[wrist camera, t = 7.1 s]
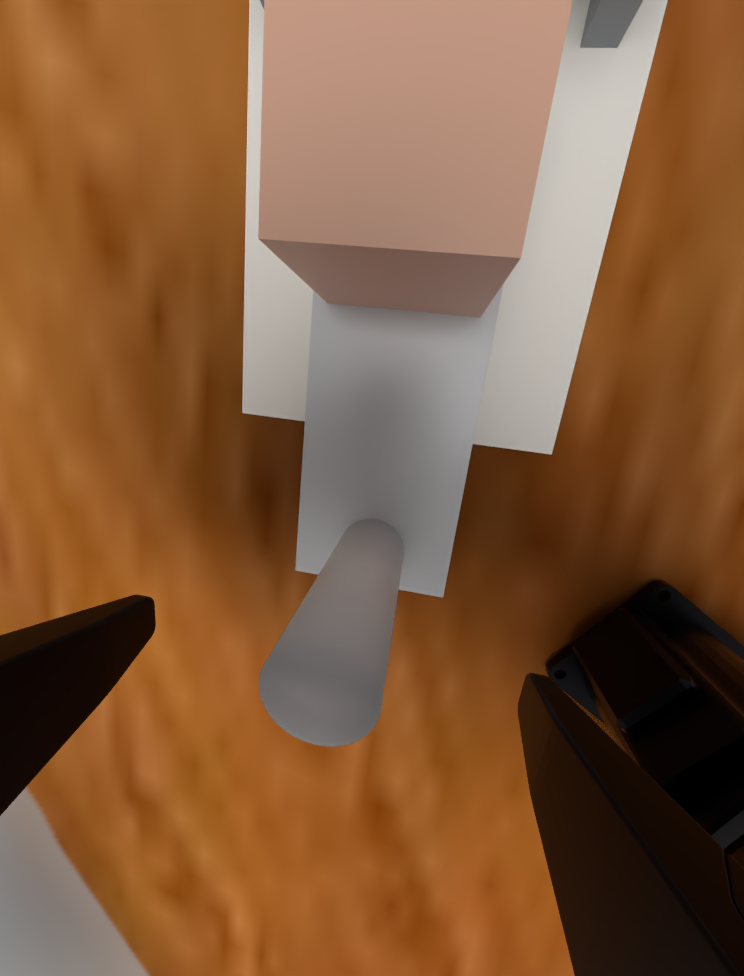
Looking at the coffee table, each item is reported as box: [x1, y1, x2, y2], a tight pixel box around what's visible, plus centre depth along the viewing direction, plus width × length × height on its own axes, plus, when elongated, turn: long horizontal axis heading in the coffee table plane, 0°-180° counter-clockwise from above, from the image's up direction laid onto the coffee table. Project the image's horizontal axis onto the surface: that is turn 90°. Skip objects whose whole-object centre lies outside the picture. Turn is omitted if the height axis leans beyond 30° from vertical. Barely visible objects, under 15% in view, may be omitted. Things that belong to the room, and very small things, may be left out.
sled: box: [258, 0, 573, 747], centre depth 9 cm, size 16×6×8 cm, turn 174°
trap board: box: [242, 0, 668, 455], centre depth 11 cm, size 24×12×2 cm, turn 174°
